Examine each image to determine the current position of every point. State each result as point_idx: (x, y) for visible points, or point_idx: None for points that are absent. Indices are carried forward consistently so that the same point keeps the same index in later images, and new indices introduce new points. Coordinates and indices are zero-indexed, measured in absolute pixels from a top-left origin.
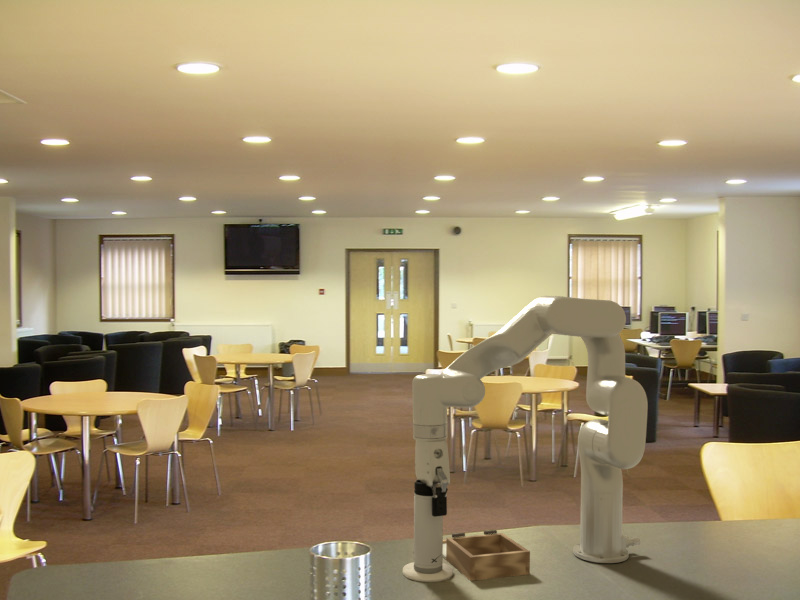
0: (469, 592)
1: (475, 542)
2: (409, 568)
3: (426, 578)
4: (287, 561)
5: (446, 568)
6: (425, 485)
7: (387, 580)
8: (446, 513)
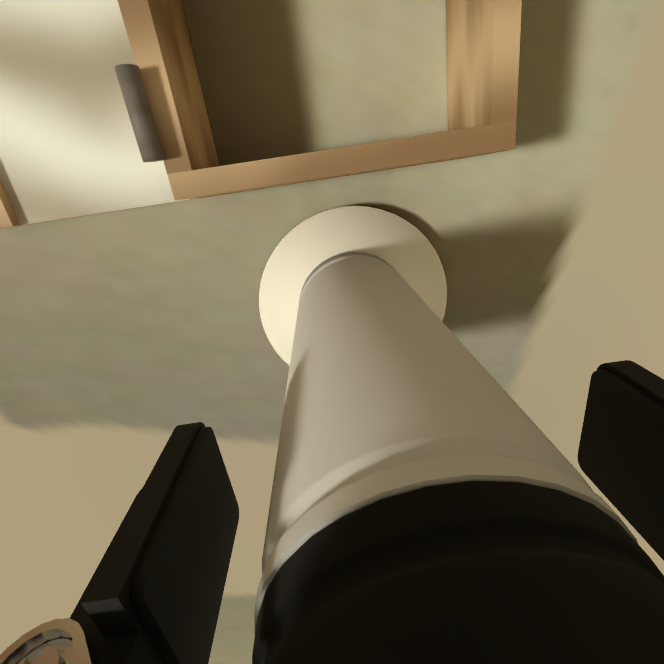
0: (574, 194)
1: (159, 3)
2: None
3: None
4: None
5: (355, 232)
6: None
7: None
8: (635, 366)
